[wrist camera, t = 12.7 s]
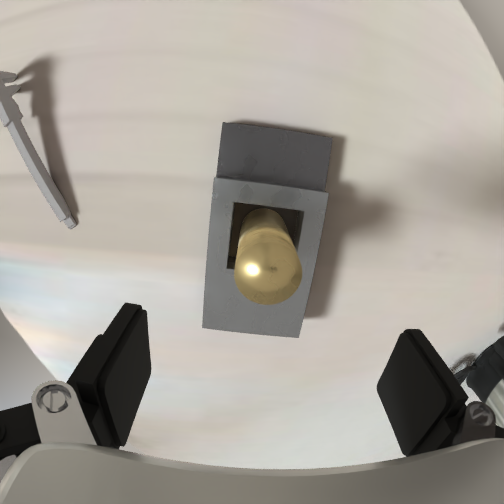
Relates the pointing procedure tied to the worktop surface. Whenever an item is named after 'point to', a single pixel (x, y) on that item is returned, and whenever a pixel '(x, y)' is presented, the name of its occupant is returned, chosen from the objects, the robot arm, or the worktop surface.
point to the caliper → (30, 149)
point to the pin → (266, 259)
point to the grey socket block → (268, 194)
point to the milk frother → (488, 378)
